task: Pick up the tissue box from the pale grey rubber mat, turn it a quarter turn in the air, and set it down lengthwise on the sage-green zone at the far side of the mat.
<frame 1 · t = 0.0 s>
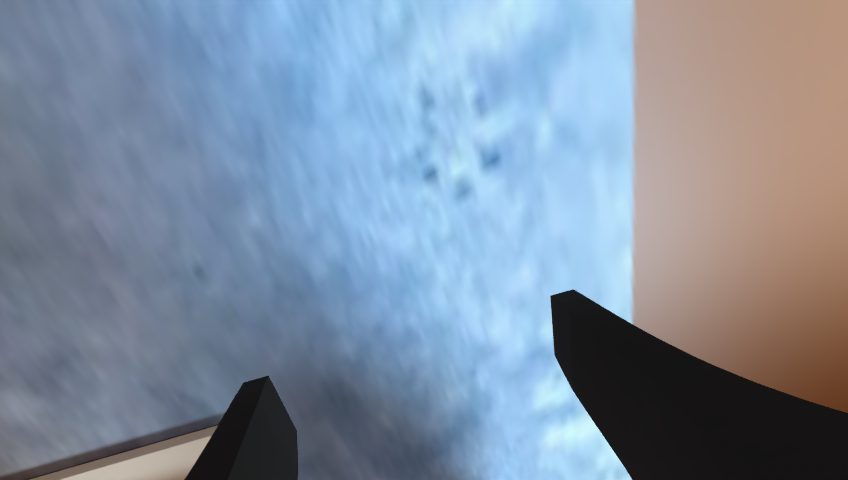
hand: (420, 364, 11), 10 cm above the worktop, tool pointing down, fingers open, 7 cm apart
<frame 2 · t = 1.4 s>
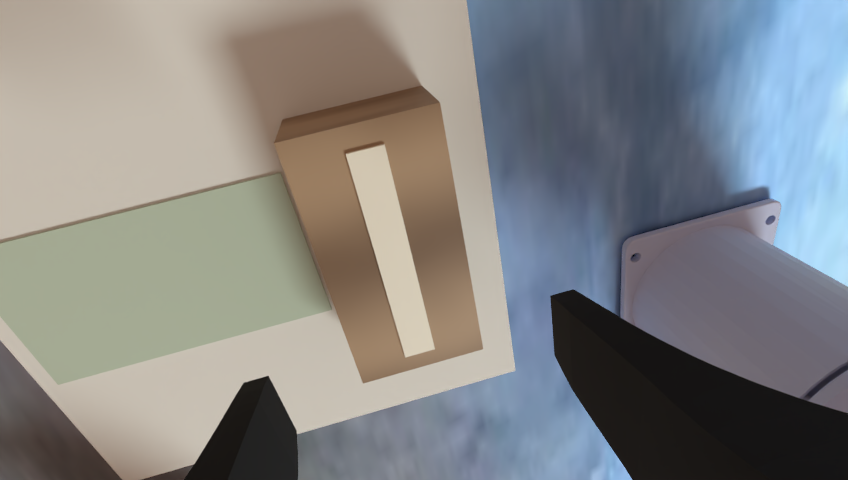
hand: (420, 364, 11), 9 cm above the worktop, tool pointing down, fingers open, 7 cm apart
tissue box: (386, 225, 18), point 1 cm above the worktop, touching mat
mat: (253, 253, 19), on the worktop
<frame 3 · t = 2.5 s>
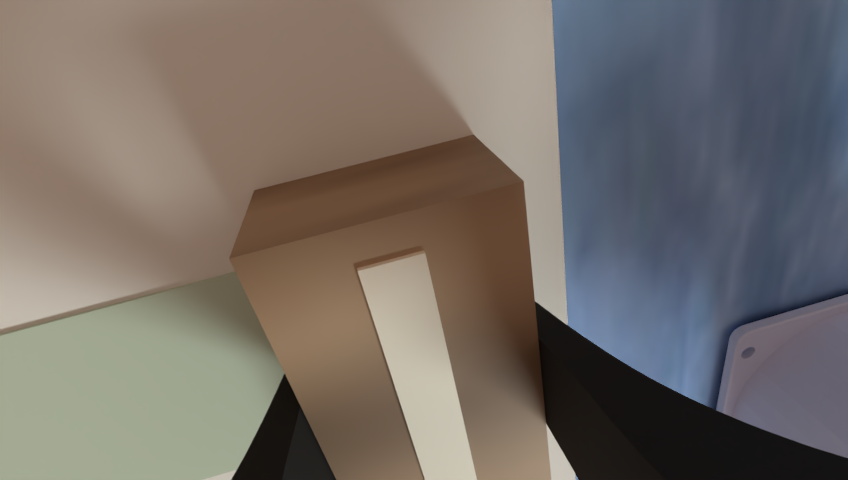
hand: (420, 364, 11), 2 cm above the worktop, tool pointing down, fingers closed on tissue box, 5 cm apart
tissue box: (412, 331, 13), point 1 cm above the worktop, touching gripper, mat
mat: (217, 371, 13), on the worktop
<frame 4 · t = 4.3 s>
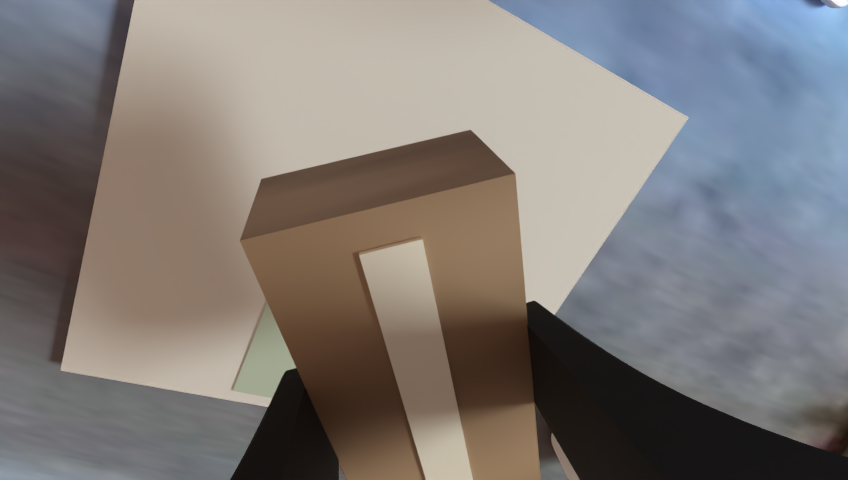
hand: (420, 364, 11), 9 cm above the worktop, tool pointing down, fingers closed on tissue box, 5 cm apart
tissue box: (409, 317, 13), point 7 cm above the worktop, touching gripper
can: (595, 417, 29), on the worktop
mat: (373, 237, 20), on the worktop
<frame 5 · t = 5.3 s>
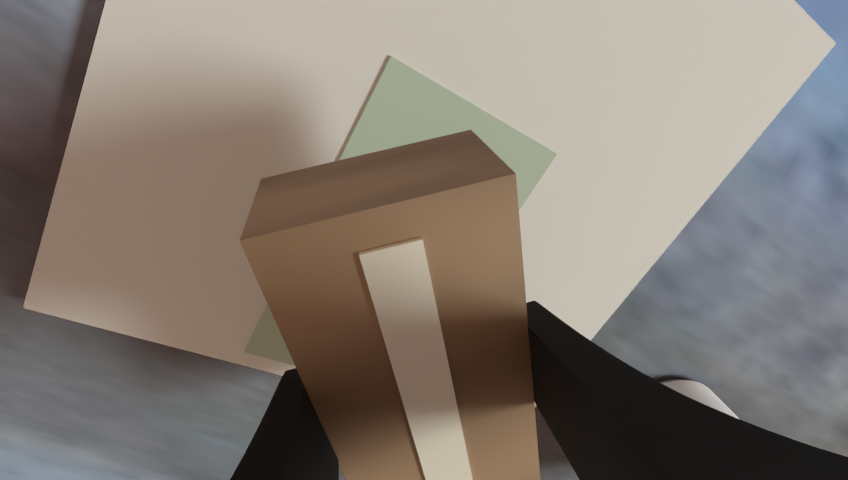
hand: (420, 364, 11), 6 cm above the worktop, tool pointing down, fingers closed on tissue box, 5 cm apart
tissue box: (408, 317, 13), point 4 cm above the worktop, touching gripper
can: (651, 416, 25), on the worktop
mat: (439, 165, 16), on the worktop
when the fingers open (3 cm above the worktop, at t = 6.3 s): tissue box stays where it is, resting on mat.
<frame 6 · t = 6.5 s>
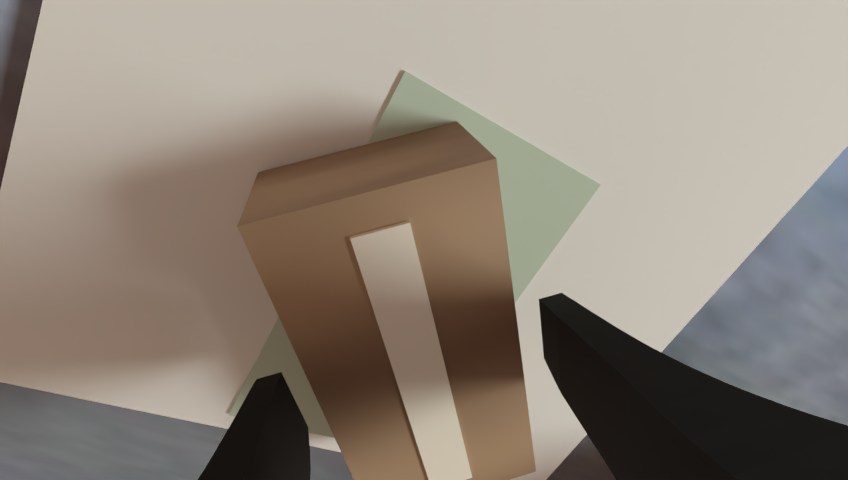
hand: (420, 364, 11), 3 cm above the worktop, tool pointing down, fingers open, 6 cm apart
tissue box: (403, 305, 14), point 1 cm above the worktop, touching mat
mat: (460, 198, 13), on the worktop
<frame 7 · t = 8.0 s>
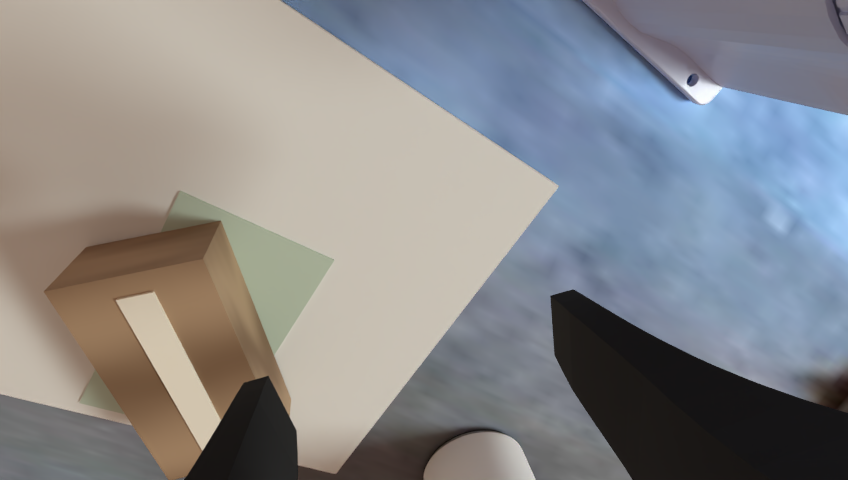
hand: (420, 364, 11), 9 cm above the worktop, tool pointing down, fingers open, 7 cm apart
tissue box: (202, 333, 20), point 1 cm above the worktop, touching mat
can: (471, 459, 29), on the worktop
mat: (240, 263, 20), on the worktop
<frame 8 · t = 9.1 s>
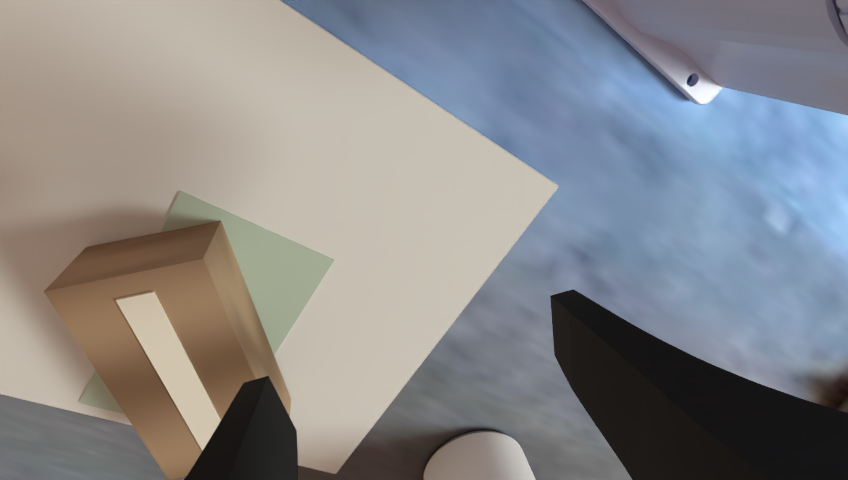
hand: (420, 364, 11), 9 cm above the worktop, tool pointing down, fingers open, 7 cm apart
tissue box: (202, 333, 20), point 1 cm above the worktop, touching mat
can: (471, 459, 29), on the worktop
mat: (240, 263, 20), on the worktop
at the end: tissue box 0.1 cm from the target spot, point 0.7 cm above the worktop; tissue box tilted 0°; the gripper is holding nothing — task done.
